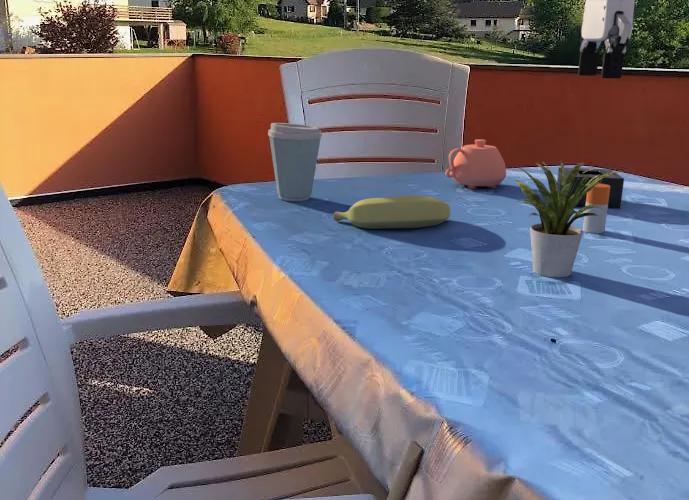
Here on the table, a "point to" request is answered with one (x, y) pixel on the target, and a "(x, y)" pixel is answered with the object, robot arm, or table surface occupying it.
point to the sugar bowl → (477, 165)
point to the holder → (611, 180)
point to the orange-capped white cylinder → (600, 199)
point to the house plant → (557, 221)
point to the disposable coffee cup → (294, 159)
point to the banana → (396, 212)
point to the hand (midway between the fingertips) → (598, 76)
